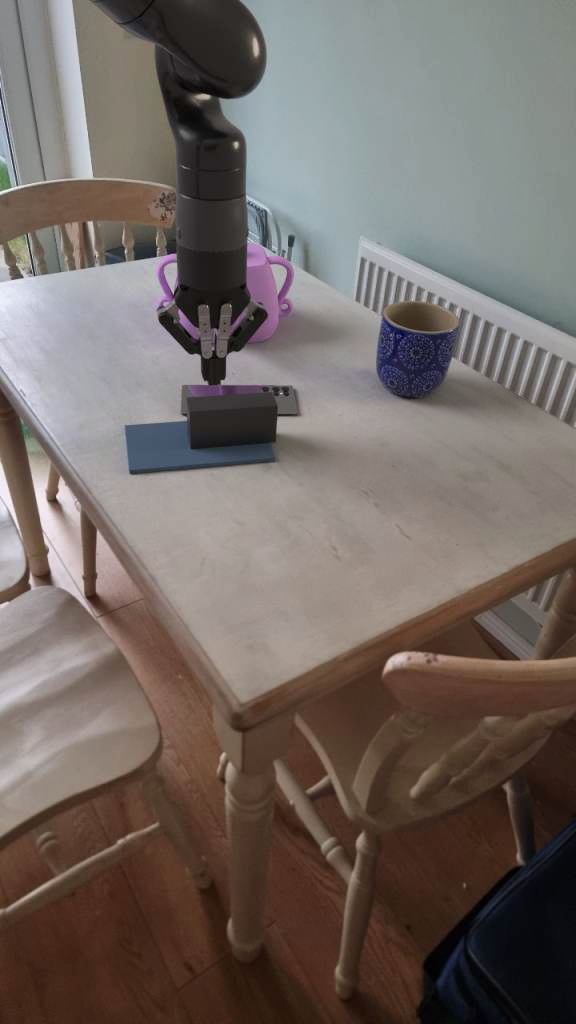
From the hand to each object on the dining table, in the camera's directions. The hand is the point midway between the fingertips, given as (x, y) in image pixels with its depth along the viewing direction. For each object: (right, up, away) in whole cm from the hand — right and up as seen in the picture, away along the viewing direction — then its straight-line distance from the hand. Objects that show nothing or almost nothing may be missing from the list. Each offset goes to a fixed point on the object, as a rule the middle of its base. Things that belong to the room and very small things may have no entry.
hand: (213, 381), depth 84 cm
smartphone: (+2, 0, +14) cm, 14 cm away
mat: (-3, -7, +5) cm, 9 cm away
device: (-3, -5, +3) cm, 7 cm away
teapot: (-1, +15, +32) cm, 35 cm away
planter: (+27, +3, +21) cm, 34 cm away
